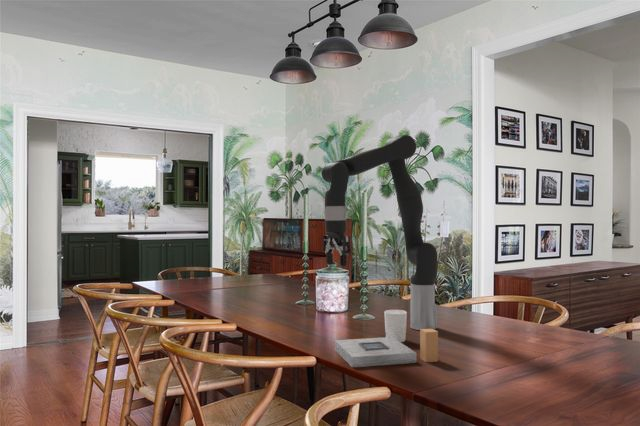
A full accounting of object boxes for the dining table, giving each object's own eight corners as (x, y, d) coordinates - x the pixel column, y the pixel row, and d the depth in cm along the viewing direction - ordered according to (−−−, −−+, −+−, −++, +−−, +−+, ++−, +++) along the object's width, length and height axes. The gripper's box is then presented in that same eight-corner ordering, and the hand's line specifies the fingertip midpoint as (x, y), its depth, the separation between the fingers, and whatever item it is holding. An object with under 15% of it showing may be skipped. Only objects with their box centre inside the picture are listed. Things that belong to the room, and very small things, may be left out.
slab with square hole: (392, 345, 171) (392, 335, 171) (416, 362, 152) (416, 351, 152) (334, 349, 167) (334, 339, 167) (352, 367, 147) (352, 356, 147)
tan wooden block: (432, 357, 157) (432, 328, 157) (438, 361, 154) (437, 331, 154) (420, 358, 157) (420, 329, 157) (425, 362, 153) (425, 332, 153)
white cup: (389, 343, 174) (389, 314, 174) (380, 338, 182) (380, 310, 182) (410, 342, 176) (410, 313, 176) (401, 336, 184) (401, 309, 184)
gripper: (356, 219, 175) (356, 266, 175) (333, 218, 187) (333, 262, 187) (338, 219, 171) (338, 267, 171) (315, 219, 183) (316, 264, 183)
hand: (336, 265), depth 179 cm, fingers open, 8 cm apart
